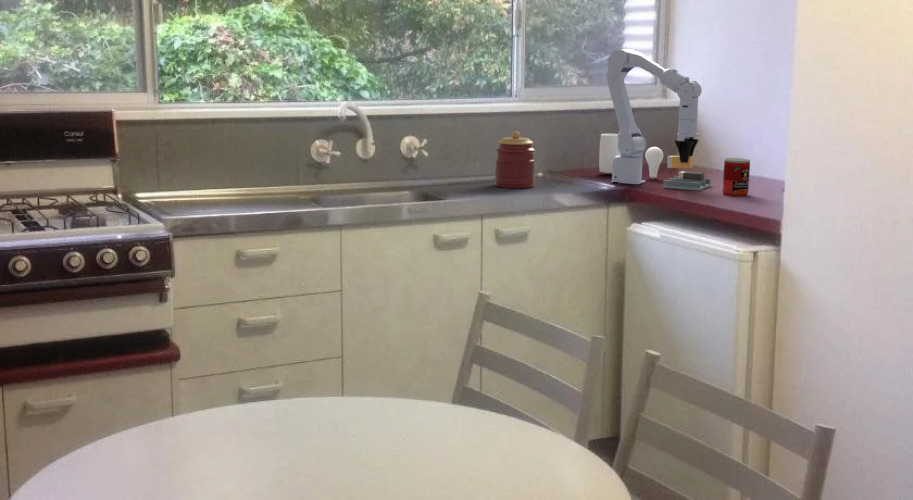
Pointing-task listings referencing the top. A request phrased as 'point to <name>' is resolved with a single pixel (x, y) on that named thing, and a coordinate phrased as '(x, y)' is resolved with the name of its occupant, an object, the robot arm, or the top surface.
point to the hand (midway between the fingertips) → (685, 161)
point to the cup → (608, 152)
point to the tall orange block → (675, 162)
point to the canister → (515, 162)
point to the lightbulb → (654, 160)
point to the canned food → (736, 176)
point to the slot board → (686, 183)
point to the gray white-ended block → (691, 175)
